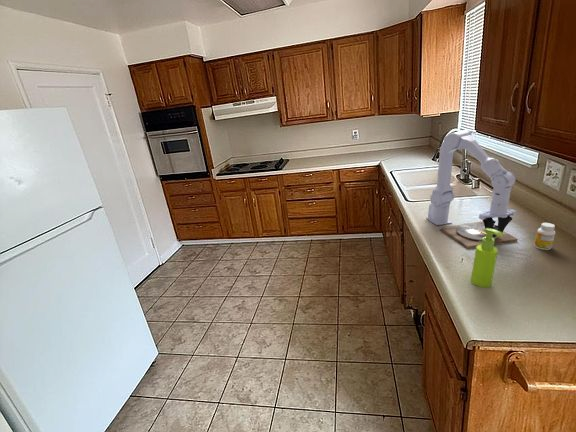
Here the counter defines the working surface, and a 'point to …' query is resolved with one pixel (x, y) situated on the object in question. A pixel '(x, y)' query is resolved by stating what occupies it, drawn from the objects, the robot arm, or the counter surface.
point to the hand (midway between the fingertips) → (493, 232)
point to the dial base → (474, 243)
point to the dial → (474, 231)
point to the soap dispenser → (485, 259)
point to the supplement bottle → (545, 236)
